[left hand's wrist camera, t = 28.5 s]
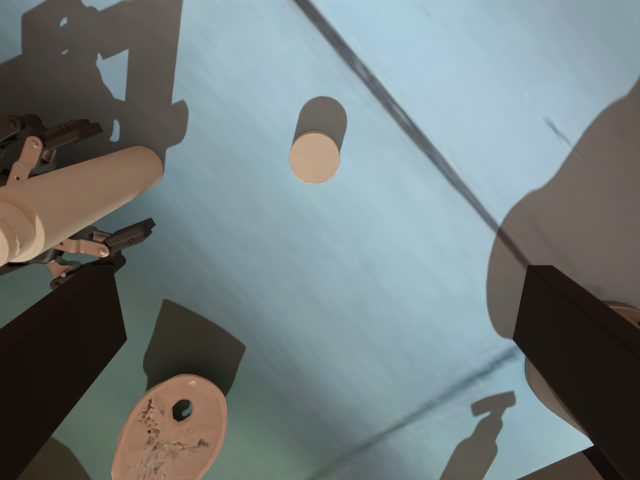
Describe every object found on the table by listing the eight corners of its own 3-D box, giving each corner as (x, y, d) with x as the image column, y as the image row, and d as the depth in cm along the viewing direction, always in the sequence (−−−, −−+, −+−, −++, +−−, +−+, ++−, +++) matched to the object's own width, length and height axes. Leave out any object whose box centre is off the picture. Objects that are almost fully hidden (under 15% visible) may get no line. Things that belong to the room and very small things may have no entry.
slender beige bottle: (172, 167, 38) (33, 241, 19) (147, 196, 39) (-8, 293, 20) (136, 136, 37) (-46, 183, 18) (111, 167, 38) (-86, 242, 19)
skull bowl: (103, 446, 48) (76, 496, 37) (170, 344, 52) (164, 361, 40) (178, 481, 51) (174, 539, 39) (237, 381, 54) (249, 407, 43)
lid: (292, 128, 37) (290, 130, 34) (340, 132, 37) (342, 135, 35) (289, 176, 38) (287, 181, 36) (335, 180, 38) (337, 186, 36)
